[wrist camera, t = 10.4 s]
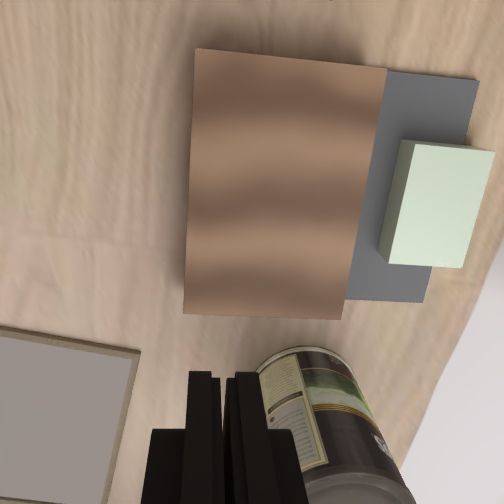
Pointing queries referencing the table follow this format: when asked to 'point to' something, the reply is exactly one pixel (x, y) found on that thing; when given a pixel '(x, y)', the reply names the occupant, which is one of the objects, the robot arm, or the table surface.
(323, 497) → the coffee can
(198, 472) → the robot arm
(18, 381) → the picture frame
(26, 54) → the table surface
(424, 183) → the block
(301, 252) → the brown wooden flat block
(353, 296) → the mat
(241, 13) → the table surface
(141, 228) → the table surface
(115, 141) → the table surface
